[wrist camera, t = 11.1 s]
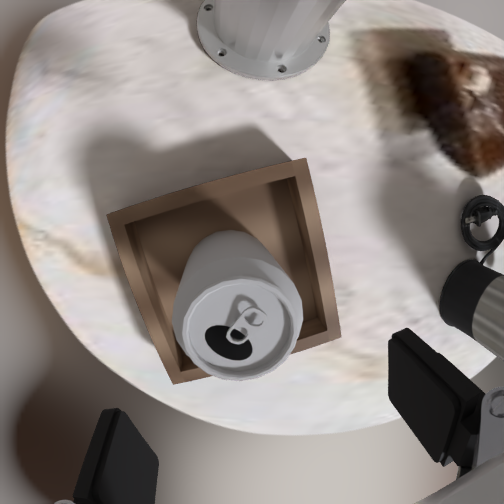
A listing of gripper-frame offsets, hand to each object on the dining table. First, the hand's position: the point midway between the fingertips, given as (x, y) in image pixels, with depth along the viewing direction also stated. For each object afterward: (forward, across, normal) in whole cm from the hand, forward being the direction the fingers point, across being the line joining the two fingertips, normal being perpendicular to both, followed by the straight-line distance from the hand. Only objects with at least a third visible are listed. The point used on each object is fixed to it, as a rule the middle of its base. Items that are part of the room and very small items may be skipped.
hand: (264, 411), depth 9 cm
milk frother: (+20, -28, +9) cm, 36 cm away
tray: (+19, 0, +1) cm, 19 cm away
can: (+18, 0, +1) cm, 19 cm away
